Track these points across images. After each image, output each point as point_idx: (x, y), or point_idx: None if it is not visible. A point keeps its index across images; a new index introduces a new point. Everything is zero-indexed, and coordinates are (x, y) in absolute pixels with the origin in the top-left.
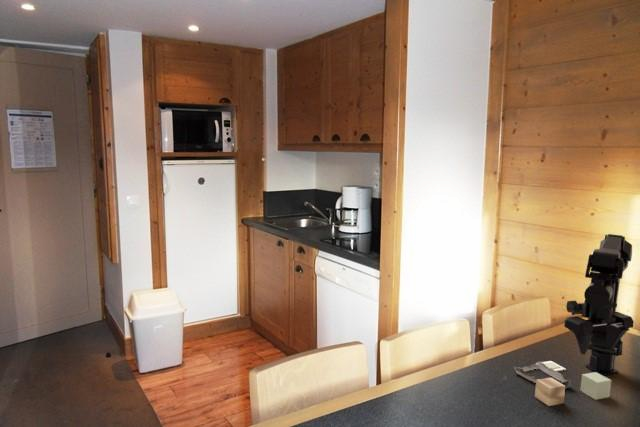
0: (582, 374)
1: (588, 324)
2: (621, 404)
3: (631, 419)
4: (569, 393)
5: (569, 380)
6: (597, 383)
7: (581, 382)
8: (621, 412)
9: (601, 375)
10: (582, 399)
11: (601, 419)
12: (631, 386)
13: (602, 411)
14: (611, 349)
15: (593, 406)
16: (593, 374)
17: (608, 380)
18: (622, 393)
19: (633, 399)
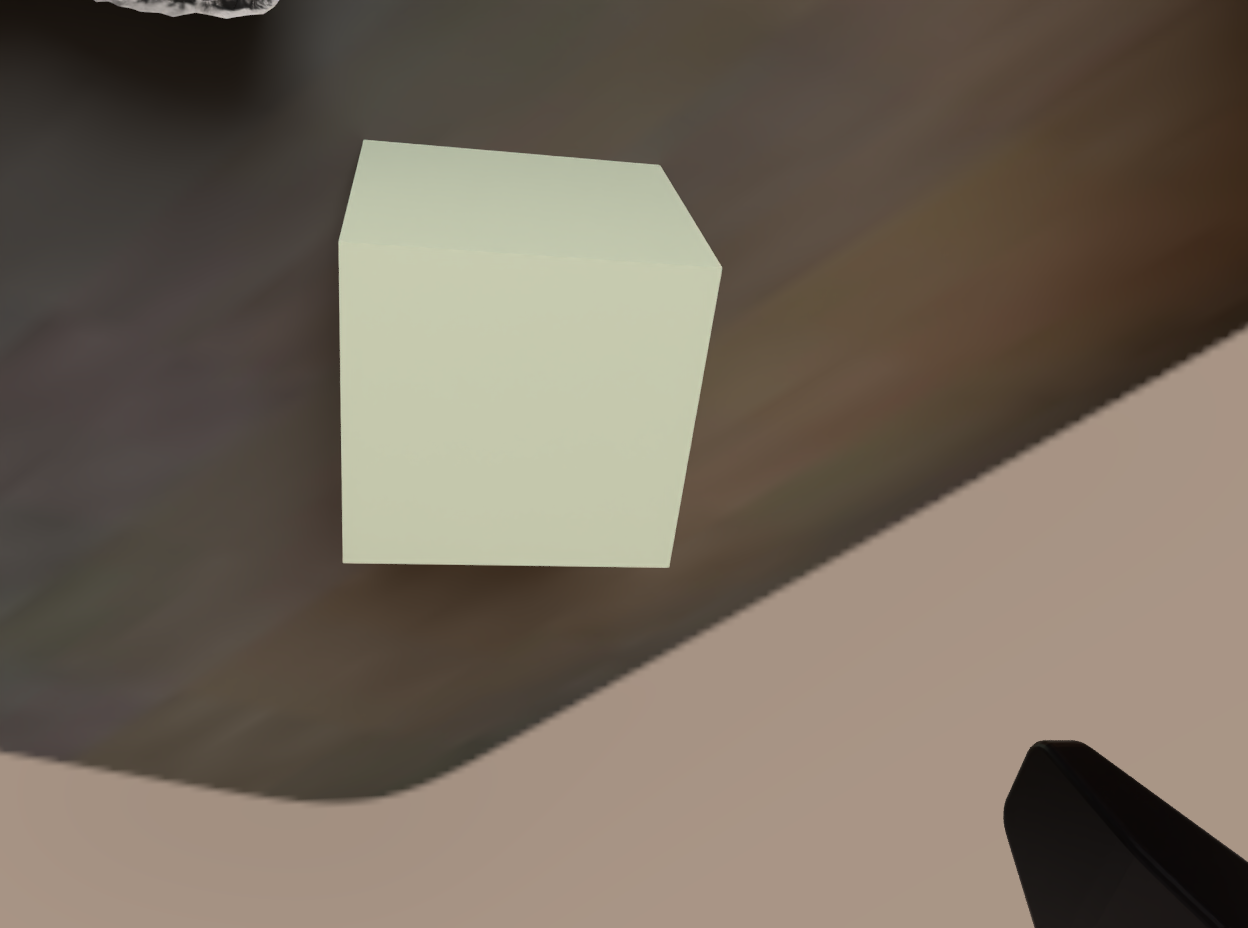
0: (347, 247)
1: None
2: (583, 580)
3: (379, 791)
4: (93, 133)
5: (196, 12)
6: (350, 553)
7: (355, 190)
8: (406, 688)
9: (682, 406)
10: (166, 344)
11: (25, 726)
12: (1203, 321)
13: (191, 623)
14: (1039, 879)
15: (172, 518)
16: (574, 328)
17: (610, 564)
18: (884, 410)
19: (842, 545)
